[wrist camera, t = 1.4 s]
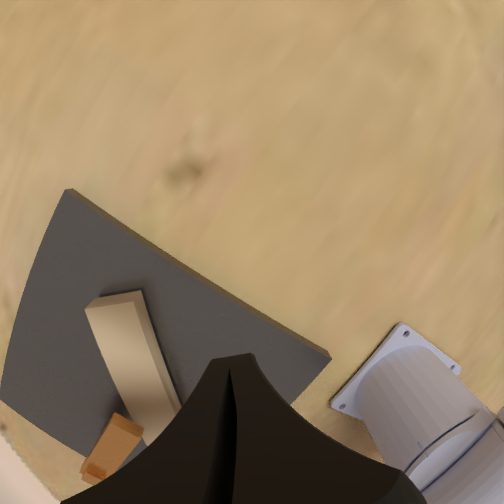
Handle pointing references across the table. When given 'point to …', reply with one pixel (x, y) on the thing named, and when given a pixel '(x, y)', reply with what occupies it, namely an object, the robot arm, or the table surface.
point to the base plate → (163, 323)
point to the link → (134, 360)
